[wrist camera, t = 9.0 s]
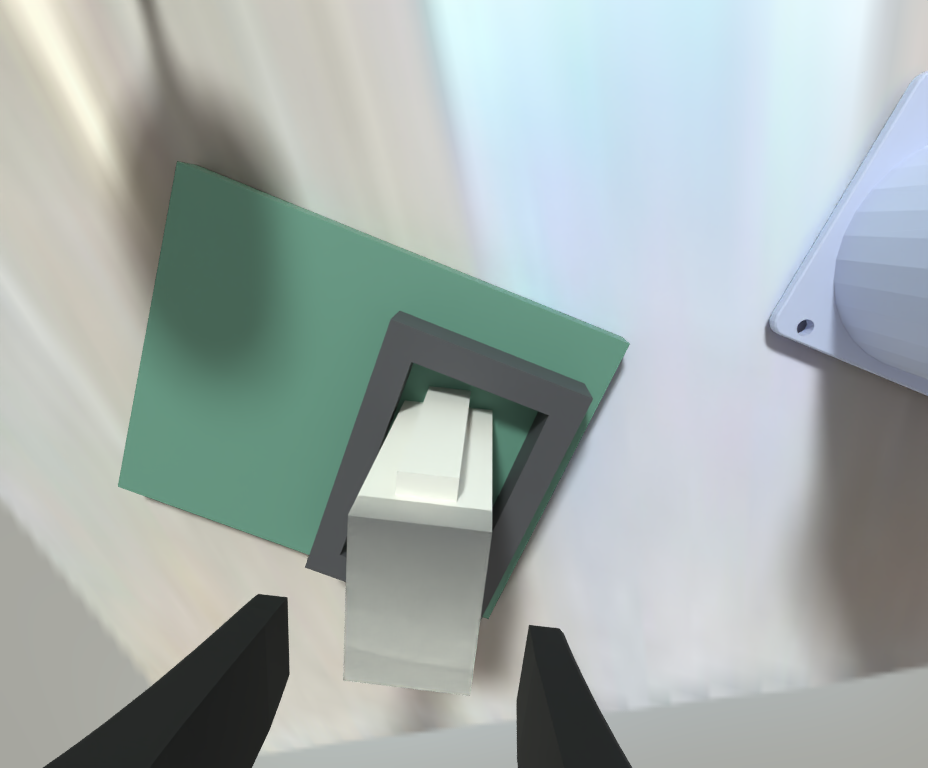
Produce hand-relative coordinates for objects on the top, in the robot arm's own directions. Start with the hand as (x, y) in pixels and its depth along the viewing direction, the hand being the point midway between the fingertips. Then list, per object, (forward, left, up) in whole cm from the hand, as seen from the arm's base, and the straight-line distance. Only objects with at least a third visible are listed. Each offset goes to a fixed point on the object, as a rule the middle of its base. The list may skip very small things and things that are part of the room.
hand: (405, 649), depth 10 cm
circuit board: (+3, 0, -9) cm, 10 cm away
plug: (0, 0, -8) cm, 8 cm away
